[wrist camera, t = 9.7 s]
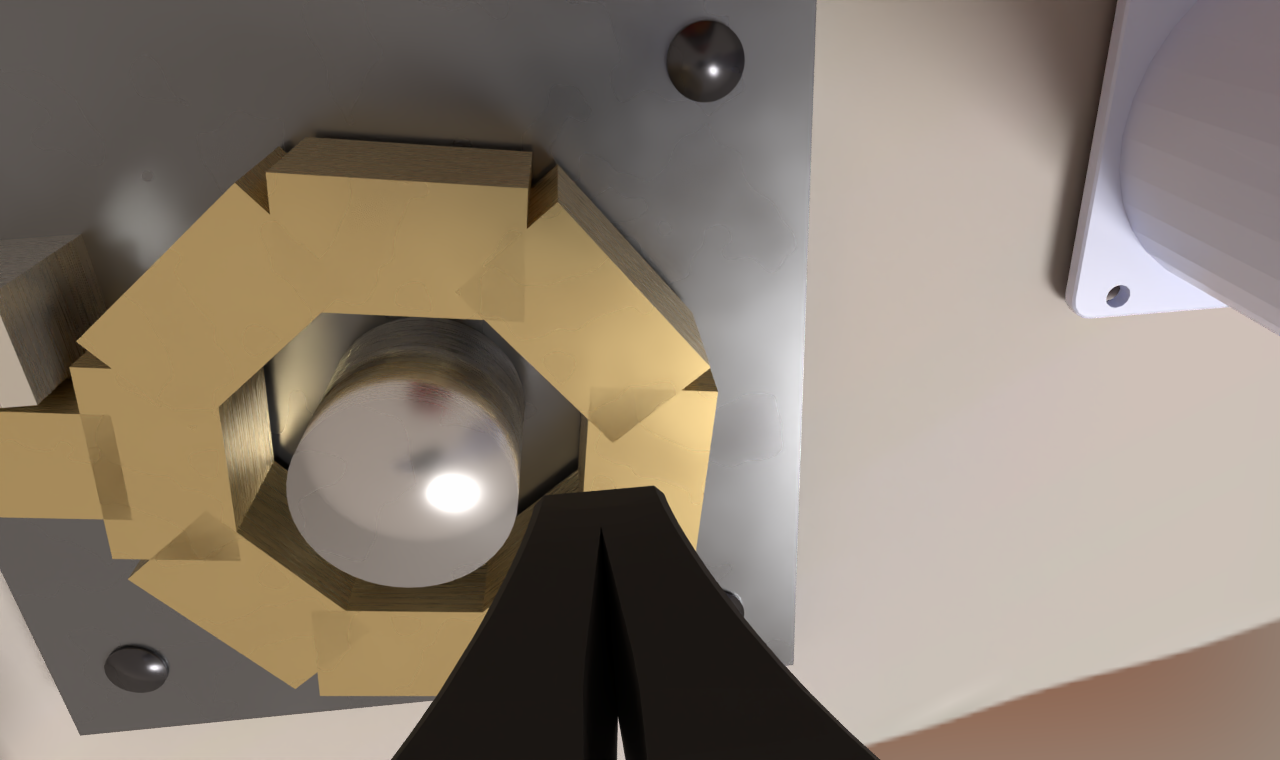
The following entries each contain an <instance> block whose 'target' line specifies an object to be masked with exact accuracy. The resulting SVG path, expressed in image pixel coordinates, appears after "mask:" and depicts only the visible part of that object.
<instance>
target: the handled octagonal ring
mask: <svg viewBox="0 0 1280 760" xmlns="http://www.w3.org/2000/svg"><path fill="white" fill-rule="evenodd" d="M531 172H532V152H527V151H512V150H497V149H482V148H466V147H451V146H436V145H421V144H406V143H390V142H375V141H360V140H345V139H330V138H314V137H306V138H304V139H303V140H302V141H301V142H300V143H299V144H298V145H296V146H295V147H294V148H293V149H292V150H291V151H290V152H288V153H286V152H285V151H284V150H283V149H282V148H281V147H280V146H279V147H278V148H276V149H275V150H274V151H273V152H271V153H270V154H269V155H268V156H267V157H265V158H264V159H263V160H262V161H261V162H259V163H258V164H257V165H256V166H254V167H253V168H252V169H251V170H250V171H248V172H247V173H246V174H245V175H243V176H242V177H241V178H240V179H239V180H237V181H236V182H235V183H234V184H233V185H232V186H231V187H230V188H229V189H228V190H227V191H226V192H225V193H224V194H223V195H222V196H221V197H220V198H219V199H218V200H217V201H216V202H215V203H214V204H213V205H212V206H211V207H210V208H209V209H208V210H207V211H206V212H205V213H204V214H203V215H202V216H201V217H200V218H199V219H198V220H197V221H196V222H195V223H194V224H193V225H192V226H191V227H190V228H189V229H188V230H187V231H186V232H185V233H184V234H183V235H182V236H181V237H180V238H179V239H178V240H177V241H176V242H175V243H174V244H173V245H172V246H171V247H170V248H169V249H168V250H167V251H166V252H165V253H164V254H163V255H162V256H161V257H160V258H159V259H158V260H157V261H156V262H155V263H154V264H153V265H152V266H151V267H150V268H149V269H148V270H147V271H146V272H145V273H144V274H143V275H142V276H141V277H140V278H139V279H138V280H137V281H136V282H135V283H134V284H133V285H132V286H131V287H130V288H129V289H128V290H127V291H126V292H125V293H124V294H123V295H122V296H121V297H120V298H119V299H118V300H117V301H116V302H115V303H114V304H113V305H112V306H111V307H110V308H109V309H108V310H107V311H106V312H105V313H104V314H103V315H102V316H101V317H100V318H99V319H98V320H97V321H96V322H95V323H94V324H93V325H92V326H91V327H90V328H89V329H88V330H87V331H86V332H85V333H84V334H83V335H82V336H81V337H80V338H79V339H78V340H77V341H76V342H77V343H78V344H80V345H81V346H82V347H84V348H85V349H86V350H88V351H86V352H85V353H84V354H83V355H82V356H81V357H80V358H79V359H78V360H77V361H76V362H75V363H73V364H72V365H71V366H70V367H69V368H70V372H71V374H70V375H69V376H68V377H67V378H66V379H65V380H64V381H62V382H61V383H60V384H59V385H58V386H57V387H56V388H55V389H54V390H53V391H52V392H51V393H50V394H49V395H48V396H46V397H45V398H44V399H43V400H42V401H41V402H40V403H39V404H38V405H32V406H20V407H8V408H0V517H8V518H57V519H104V524H105V528H106V533H107V537H108V541H109V546H110V550H111V555H112V559H141V560H140V561H139V563H138V564H137V566H136V567H135V569H134V570H133V572H132V574H131V575H130V577H129V578H128V580H130V581H131V582H133V583H134V584H136V585H137V586H139V587H140V588H142V589H143V590H145V591H146V592H148V593H149V594H151V595H152V596H154V597H155V598H157V599H159V600H160V601H162V602H163V603H165V604H166V605H168V606H169V607H171V608H172V609H174V610H175V611H177V612H178V613H180V614H181V615H183V616H184V617H186V618H187V619H189V620H191V621H192V622H194V623H195V624H197V625H198V626H200V627H201V628H203V629H204V630H206V631H207V632H209V633H210V634H212V635H213V636H215V637H216V638H218V639H220V640H221V641H223V642H224V643H226V644H227V645H229V646H230V647H232V648H233V649H235V650H236V651H238V652H239V653H241V654H242V655H244V656H245V657H247V658H249V659H250V660H252V661H253V662H255V663H256V664H258V665H259V666H261V667H262V668H264V669H265V670H267V671H268V672H270V673H271V674H273V675H274V676H276V677H278V678H279V679H281V680H282V681H284V682H285V683H287V684H288V685H290V686H291V687H293V688H294V689H296V688H298V687H299V686H300V685H301V684H303V683H304V682H305V681H307V680H308V679H309V678H311V677H312V676H313V675H314V674H316V673H317V672H318V682H319V691H320V696H437V694H438V693H439V691H440V690H441V688H442V687H443V685H444V683H445V682H446V680H447V678H448V677H449V675H450V674H451V672H452V670H453V669H454V667H455V666H456V664H457V662H458V661H459V659H460V657H461V656H462V654H463V653H464V651H465V649H466V648H467V646H468V644H469V643H470V641H471V640H472V638H473V636H474V635H475V633H476V631H477V629H478V628H479V626H480V624H481V622H482V620H483V619H484V617H485V615H486V613H487V611H488V609H489V607H490V605H491V603H492V601H493V600H494V598H495V596H496V594H497V592H498V590H499V588H500V586H501V584H502V582H503V581H504V579H505V577H506V575H507V573H508V570H509V568H510V566H511V564H512V562H513V560H514V558H515V555H516V553H517V551H518V549H519V546H520V544H521V542H522V539H523V537H524V535H525V532H526V529H527V527H528V524H529V521H530V519H531V516H532V512H533V509H534V506H535V504H536V503H537V502H538V501H539V500H540V499H541V498H542V497H541V498H540V499H539V500H537V501H536V502H535V503H533V504H532V505H531V506H530V507H528V508H527V509H526V510H524V511H523V512H522V513H521V514H519V515H518V516H517V517H516V518H515V522H514V525H513V528H512V530H511V532H510V534H509V536H508V538H507V539H506V541H505V543H504V544H503V546H502V547H501V548H500V549H499V550H498V552H497V553H496V554H495V555H494V556H493V557H492V558H491V559H490V560H488V561H487V562H486V563H485V564H484V565H482V566H481V567H479V568H478V569H476V570H475V571H473V572H471V573H469V574H467V575H465V576H463V577H461V578H458V579H456V580H453V581H450V582H447V583H443V584H439V585H434V586H427V587H413V588H405V587H392V586H385V585H379V584H376V583H372V582H368V581H365V580H362V579H359V578H357V577H354V576H352V575H350V574H348V573H346V572H344V571H342V570H340V569H338V568H337V567H335V566H333V565H332V564H330V563H329V562H327V561H326V560H325V559H324V558H322V557H321V556H320V555H319V554H318V553H317V552H316V551H315V550H314V549H313V548H312V547H311V546H310V545H309V544H308V543H307V542H306V540H305V539H304V538H303V536H302V535H301V533H300V532H299V530H298V528H297V526H296V525H295V523H294V521H293V518H292V515H291V513H290V510H289V506H288V501H287V493H286V481H287V474H288V471H287V470H286V469H284V468H283V467H282V466H281V465H279V464H278V463H277V462H275V461H274V455H273V446H272V438H271V429H270V420H269V412H268V403H267V395H266V386H265V377H264V369H263V366H264V365H265V364H266V363H267V362H268V361H269V360H270V359H271V358H273V357H274V356H275V355H276V354H277V353H278V352H279V351H280V350H281V349H282V348H283V347H285V346H286V345H287V344H288V343H289V342H290V341H291V340H292V339H293V338H294V337H295V336H297V335H298V334H299V333H300V332H301V331H302V330H303V329H304V328H305V327H306V326H308V325H309V324H310V323H311V322H312V321H313V320H314V319H315V318H316V317H317V316H318V315H320V314H321V313H342V314H364V315H386V316H408V317H431V318H453V319H475V320H485V321H486V322H487V323H488V324H489V325H490V326H491V327H492V328H493V329H494V330H495V331H496V332H497V333H499V334H500V335H501V336H502V337H503V338H504V339H505V340H506V341H507V342H508V343H509V344H510V345H511V346H512V347H513V348H514V349H515V350H516V351H517V352H518V353H519V354H520V355H521V356H523V357H524V358H525V359H526V360H527V361H528V362H529V363H530V364H531V365H532V366H533V367H534V368H535V369H536V370H537V371H538V372H539V373H540V374H541V375H542V376H543V377H544V378H545V379H546V380H548V381H549V382H550V383H551V384H552V385H553V386H554V387H555V388H556V389H557V390H558V391H559V392H560V393H561V394H562V395H563V396H564V397H565V398H566V399H567V400H568V401H569V402H570V403H572V404H573V405H574V406H575V407H576V408H577V409H578V410H579V411H580V412H581V429H580V445H579V460H578V469H577V470H576V471H575V472H574V473H572V474H571V475H570V476H568V477H567V478H566V479H564V480H563V481H562V482H561V483H559V484H558V485H557V486H555V487H554V488H553V489H552V490H550V491H549V492H548V493H546V494H545V495H553V494H564V493H575V492H587V491H598V490H609V489H620V488H632V487H643V486H655V487H657V488H658V489H659V490H660V491H661V492H663V493H664V494H665V497H666V499H667V502H668V504H669V506H670V508H671V510H672V512H673V514H674V516H675V518H676V519H677V521H678V523H679V525H680V526H681V528H682V530H683V532H684V533H685V535H686V537H687V538H688V540H689V541H690V543H691V544H692V546H693V547H694V549H695V551H696V547H697V540H698V533H699V525H700V518H701V511H702V504H703V497H704V490H705V482H706V475H707V468H708V461H709V454H710V446H711V439H712V432H713V425H714V418H715V411H716V403H717V396H718V390H717V387H716V384H715V381H714V378H713V375H712V372H711V369H710V368H711V367H710V364H709V361H708V358H707V355H706V352H705V349H704V346H703V343H702V340H701V337H700V334H699V331H698V328H697V325H696V322H695V319H694V316H693V313H692V312H691V311H690V309H689V308H688V307H687V306H686V305H685V304H684V303H683V302H682V301H681V300H680V298H679V297H678V296H677V295H676V294H675V293H674V292H673V291H672V290H671V288H670V287H669V286H668V285H667V284H666V283H665V282H664V281H663V280H662V279H661V277H660V276H659V275H658V274H657V273H656V272H655V271H654V270H653V269H652V267H651V266H650V265H649V264H648V263H647V262H646V261H645V260H644V259H643V258H642V256H641V255H640V254H639V253H638V252H637V251H636V250H635V249H634V248H633V246H632V245H631V244H630V243H629V242H628V241H627V240H626V239H625V238H624V237H623V235H622V234H621V233H620V232H619V231H618V230H617V229H616V228H615V227H614V225H613V224H612V223H611V222H610V221H609V220H608V219H607V218H606V217H605V216H604V214H603V213H602V212H601V211H600V210H599V209H598V208H597V207H596V206H595V204H594V203H593V202H592V201H591V200H590V199H589V198H588V197H587V196H586V195H585V193H584V192H583V191H582V190H581V189H580V188H579V187H578V186H577V185H576V183H575V182H574V181H573V180H572V179H571V178H570V177H569V176H568V175H567V174H566V172H565V171H564V170H563V169H562V168H561V167H560V166H559V165H558V164H557V165H556V166H555V167H554V168H553V169H552V170H551V171H550V172H548V173H547V174H546V175H545V176H544V177H543V178H542V179H541V180H539V181H538V182H537V183H536V184H535V185H534V186H533V187H532V188H531Z"/></svg>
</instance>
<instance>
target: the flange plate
mask: <svg viewBox="0 0 1280 760" xmlns="http://www.w3.org/2000/svg"><path fill="white" fill-rule="evenodd" d="M815 28H816V0H0V408H8V407H20V406H32V405H38V404H39V403H40V402H41V401H42V400H43V399H44V398H45V397H46V396H48V395H49V394H50V393H51V392H52V391H53V390H54V389H55V388H56V387H57V386H58V385H59V384H60V383H61V382H62V381H64V380H65V379H66V378H67V377H68V376H69V375H70V374H71V372H70V368H69V367H70V366H71V365H72V364H73V363H75V362H76V361H77V360H78V359H79V358H80V357H81V356H82V355H83V354H84V353H85V352H86V351H88V350H86V349H85V348H84V347H82V346H81V345H80V344H78V343H77V342H76V341H77V340H78V339H79V338H80V337H81V336H82V335H83V334H84V333H85V332H86V331H87V330H88V329H89V328H90V327H91V326H92V325H93V324H94V323H95V322H96V321H97V320H98V319H99V318H100V317H101V316H102V315H103V314H104V313H105V312H106V311H107V310H108V309H109V308H110V307H111V306H112V305H113V304H114V303H115V302H116V301H117V300H118V299H119V298H120V297H121V296H122V295H123V294H124V293H125V292H126V291H127V290H128V289H129V288H130V287H131V286H132V285H133V284H134V283H135V282H136V281H137V280H138V279H139V278H140V277H141V276H142V275H143V274H144V273H145V272H146V271H147V270H148V269H149V268H150V267H151V266H152V265H153V264H154V263H155V262H156V261H157V260H158V259H159V258H160V257H161V256H162V255H163V254H164V253H165V252H166V251H167V250H168V249H169V248H170V247H171V246H172V245H173V244H174V243H175V242H176V241H177V240H178V239H179V238H180V237H181V236H182V235H183V234H184V233H185V232H186V231H187V230H188V229H189V228H190V227H191V226H192V225H193V224H194V223H195V222H196V221H197V220H198V219H199V218H200V217H201V216H202V215H203V214H204V213H205V212H206V211H207V210H208V209H209V208H210V207H211V206H212V205H213V204H214V203H215V202H216V201H217V200H218V199H219V198H220V197H221V196H222V195H223V194H224V193H225V192H226V191H227V190H228V189H229V188H230V187H231V186H232V185H233V184H234V183H235V182H236V181H237V180H239V179H240V178H241V177H242V176H243V175H245V174H246V173H247V172H248V171H250V170H251V169H252V168H253V167H254V166H256V165H257V164H258V163H259V162H261V161H262V160H263V159H264V158H265V157H267V156H268V155H269V154H270V153H271V152H273V151H274V150H275V149H276V148H278V147H279V146H280V147H281V148H282V149H283V150H284V151H285V152H286V153H288V152H290V151H291V150H292V149H293V148H294V147H295V146H296V145H298V144H299V143H300V142H301V141H302V140H303V139H304V138H306V137H314V138H330V139H345V140H360V141H375V142H390V143H406V144H421V145H436V146H451V147H466V148H482V149H497V150H512V151H527V152H532V172H531V188H532V187H533V186H534V185H535V184H536V183H537V182H538V181H539V180H541V179H542V178H543V177H544V176H545V175H546V174H547V173H548V172H550V171H551V170H552V169H553V168H554V167H555V166H556V165H557V164H558V165H559V166H560V167H561V168H562V169H563V170H564V171H565V172H566V174H567V175H568V176H569V177H570V178H571V179H572V180H573V181H574V182H575V183H576V185H577V186H578V187H579V188H580V189H581V190H582V191H583V192H584V193H585V195H586V196H587V197H588V198H589V199H590V200H591V201H592V202H593V203H594V204H595V206H596V207H597V208H598V209H599V210H600V211H601V212H602V213H603V214H604V216H605V217H606V218H607V219H608V220H609V221H610V222H611V223H612V224H613V225H614V227H615V228H616V229H617V230H618V231H619V232H620V233H621V234H622V235H623V237H624V238H625V239H626V240H627V241H628V242H629V243H630V244H631V245H632V246H633V248H634V249H635V250H636V251H637V252H638V253H639V254H640V255H641V256H642V258H643V259H644V260H645V261H646V262H647V263H648V264H649V265H650V266H651V267H652V269H653V270H654V271H655V272H656V273H657V274H658V275H659V276H660V277H661V279H662V280H663V281H664V282H665V283H666V284H667V285H668V286H669V287H670V288H671V290H672V291H673V292H674V293H675V294H676V295H677V296H678V297H679V298H680V300H681V301H682V302H683V303H684V304H685V305H686V306H687V307H688V308H689V309H690V311H691V312H692V313H693V316H694V319H695V322H696V325H697V328H698V331H699V334H700V337H701V340H702V343H703V346H704V349H705V352H706V355H707V358H708V361H709V364H710V367H711V368H710V369H711V372H712V375H713V378H714V381H715V384H716V387H717V390H718V396H717V403H716V411H715V418H714V425H713V432H712V439H711V446H710V454H709V461H708V468H707V475H706V482H705V490H704V497H703V504H702V511H701V518H700V525H699V533H698V540H697V547H696V552H697V554H698V555H699V557H700V558H701V560H702V561H703V563H704V564H705V566H706V567H707V568H708V570H709V571H710V573H711V574H712V576H713V577H714V578H715V580H716V581H717V582H718V584H719V585H720V586H721V588H722V589H723V590H724V592H725V593H726V594H727V596H728V597H729V598H730V600H731V601H732V602H733V604H734V605H735V606H736V608H737V609H738V610H739V612H740V613H741V614H742V615H743V617H744V618H745V619H746V620H747V622H748V623H749V624H750V625H751V627H752V628H753V629H754V630H755V632H756V633H757V634H758V635H759V636H760V637H761V639H762V640H763V641H764V642H765V643H766V644H767V646H768V647H769V648H770V649H771V650H772V651H773V653H774V654H775V655H776V656H777V657H778V658H779V659H780V661H781V662H782V663H783V664H784V665H785V666H787V665H793V661H794V632H795V603H796V574H797V546H798V517H799V488H800V459H801V431H802V402H803V373H804V344H805V316H806V287H807V258H808V229H809V201H810V172H811V143H812V114H813V86H814V57H815ZM263 369H264V377H265V386H266V395H267V403H268V412H269V420H270V429H271V438H272V446H273V455H274V461H275V462H277V463H278V464H279V465H281V466H282V467H283V468H284V469H286V470H287V471H288V474H287V481H286V493H287V501H288V506H289V510H290V513H291V515H292V518H293V521H294V523H295V525H296V526H297V528H298V530H299V532H300V533H301V535H302V536H303V538H304V539H305V540H306V542H307V543H308V544H309V545H310V546H311V547H312V548H313V549H314V550H315V551H316V552H317V553H318V554H319V555H320V556H321V557H322V558H324V559H325V560H326V561H327V562H329V563H330V564H332V565H333V566H335V567H337V568H338V569H340V570H342V571H344V572H346V573H348V574H350V575H352V576H354V577H357V578H359V579H362V580H365V581H368V582H372V583H376V584H379V585H385V586H392V587H405V588H413V587H427V586H434V585H439V584H443V583H447V582H450V581H453V580H456V579H458V578H461V577H463V576H465V575H467V574H469V573H471V572H473V571H475V570H476V569H478V568H479V567H481V566H482V565H484V564H485V563H486V562H487V561H488V560H490V559H491V558H492V557H493V556H494V555H495V554H496V553H497V552H498V550H499V549H500V548H501V547H502V546H503V544H504V543H505V541H506V539H507V538H508V536H509V534H510V532H511V530H512V528H513V525H514V522H515V518H516V517H517V516H518V515H519V514H521V513H522V512H523V511H524V510H526V509H527V508H528V507H530V506H531V505H532V504H533V503H535V502H536V501H537V500H539V499H540V498H541V497H543V496H544V495H545V494H546V493H548V492H549V491H550V490H552V489H553V488H554V487H555V486H557V485H558V484H559V483H561V482H562V481H563V480H564V479H566V478H567V477H568V476H570V475H571V474H572V473H574V472H575V471H576V470H577V469H578V460H579V445H580V429H581V412H580V411H579V410H578V409H577V408H576V407H575V406H574V405H573V404H572V403H570V402H569V401H568V400H567V399H566V398H565V397H564V396H563V395H562V394H561V393H560V392H559V391H558V390H557V389H556V388H555V387H554V386H553V385H552V384H551V383H550V382H549V381H548V380H546V379H545V378H544V377H543V376H542V375H541V374H540V373H539V372H538V371H537V370H536V369H535V368H534V367H533V366H532V365H531V364H530V363H529V362H528V361H527V360H526V359H525V358H524V357H523V356H521V355H520V354H519V353H518V352H517V351H516V350H515V349H514V348H513V347H512V346H511V345H510V344H509V343H508V342H507V341H506V340H505V339H504V338H503V337H502V336H501V335H500V334H499V333H497V332H496V331H495V330H494V329H493V328H492V327H491V326H490V325H489V324H488V323H487V322H486V321H485V320H475V319H453V318H431V317H408V316H386V315H364V314H342V313H321V314H320V315H318V316H317V317H316V318H315V319H314V320H313V321H312V322H311V323H310V324H309V325H308V326H306V327H305V328H304V329H303V330H302V331H301V332H300V333H299V334H298V335H297V336H295V337H294V338H293V339H292V340H291V341H290V342H289V343H288V344H287V345H286V346H285V347H283V348H282V349H281V350H280V351H279V352H278V353H277V354H276V355H275V356H274V357H273V358H271V359H270V360H269V361H268V362H267V363H266V364H265V365H264V366H263ZM140 560H141V559H112V555H111V550H110V546H109V541H108V537H107V533H106V528H105V524H104V519H57V518H8V517H0V570H1V572H2V574H3V576H4V578H5V580H6V582H7V584H8V586H9V588H10V590H11V592H12V594H13V597H14V599H15V601H16V603H17V605H18V607H19V609H20V611H21V613H22V615H23V617H24V619H25V621H26V624H27V626H28V628H29V630H30V632H31V634H32V636H33V638H34V640H35V642H36V644H37V646H38V648H39V651H40V653H41V655H42V657H43V659H44V661H45V663H46V665H47V667H48V669H49V671H50V673H51V676H52V678H53V680H54V682H55V684H56V686H57V688H58V690H59V692H60V694H61V696H62V698H63V700H64V703H65V705H66V707H67V709H68V711H69V713H70V715H71V717H72V719H73V721H74V723H75V725H76V727H77V730H78V732H79V734H80V735H90V734H100V733H110V732H120V731H130V730H140V729H151V728H161V727H171V726H181V725H191V724H201V723H211V722H221V721H231V720H241V719H252V718H262V717H272V716H282V715H292V714H302V713H312V712H322V711H332V710H342V709H352V708H363V707H373V706H383V705H393V704H403V703H413V702H423V701H433V700H434V699H435V697H436V696H320V691H319V682H318V672H317V673H316V674H314V675H313V676H312V677H311V678H309V679H308V680H307V681H305V682H304V683H303V684H301V685H300V686H299V687H298V688H296V689H294V688H293V687H291V686H290V685H288V684H287V683H285V682H284V681H282V680H281V679H279V678H278V677H276V676H274V675H273V674H271V673H270V672H268V671H267V670H265V669H264V668H262V667H261V666H259V665H258V664H256V663H255V662H253V661H252V660H250V659H249V658H247V657H245V656H244V655H242V654H241V653H239V652H238V651H236V650H235V649H233V648H232V647H230V646H229V645H227V644H226V643H224V642H223V641H221V640H220V639H218V638H216V637H215V636H213V635H212V634H210V633H209V632H207V631H206V630H204V629H203V628H201V627H200V626H198V625H197V624H195V623H194V622H192V621H191V620H189V619H187V618H186V617H184V616H183V615H181V614H180V613H178V612H177V611H175V610H174V609H172V608H171V607H169V606H168V605H166V604H165V603H163V602H162V601H160V600H159V599H157V598H155V597H154V596H152V595H151V594H149V593H148V592H146V591H145V590H143V589H142V588H140V587H139V586H137V585H136V584H134V583H133V582H131V581H130V580H128V578H129V577H130V575H131V574H132V572H133V570H134V569H135V567H136V566H137V564H138V563H139V561H140Z"/></svg>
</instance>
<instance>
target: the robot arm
mask: <svg viewBox="0 0 1280 760" xmlns="http://www.w3.org/2000/svg"><path fill="white" fill-rule="evenodd" d="M1119 285H1120V290H1119V292H1118V294H1117V295H1116V296H1115V297H1114V298H1113V299H1111V300H1108V301H1106V297H1107V295H1108V292H1109V291H1110V290H1111V289H1112V288H1114V287H1116V286H1119ZM1065 296H1066V303H1067V305H1068V307H1069V309H1071V310H1072V311H1073V312H1075V313H1076V314H1077V315H1079V316H1081V317H1082V318H1103V317H1115V316H1127V315H1139V314H1151V313H1163V312H1175V311H1188V310H1200V309H1212V308H1224V307H1231V308H1232V309H1234V310H1236V311H1238V312H1239V313H1241V314H1243V315H1244V316H1246V317H1248V318H1250V319H1251V320H1253V321H1255V322H1256V323H1258V324H1260V325H1262V326H1263V327H1265V328H1267V329H1268V330H1270V331H1272V332H1274V333H1275V334H1277V335H1279V336H1280V0H1117V6H1116V12H1115V17H1114V23H1113V29H1112V34H1111V40H1110V46H1109V51H1108V57H1107V63H1106V68H1105V74H1104V79H1103V85H1102V91H1101V96H1100V102H1099V108H1098V113H1097V119H1096V125H1095V130H1094V136H1093V141H1092V147H1091V153H1090V158H1089V164H1088V170H1087V175H1086V181H1085V187H1084V192H1083V198H1082V204H1081V209H1080V215H1079V220H1078V226H1077V232H1076V237H1075V243H1074V249H1073V254H1072V260H1071V266H1070V271H1069V277H1068V282H1067V288H1066V294H1065ZM618 719H619V725H620V730H621V736H622V742H623V748H624V753H625V759H626V760H880V759H879V758H878V757H876V756H875V755H874V754H873V753H872V752H871V751H870V750H869V749H868V748H867V747H866V746H864V745H863V744H862V743H861V742H860V741H859V740H858V739H857V738H856V737H855V736H853V735H852V734H851V733H850V732H849V731H848V730H847V729H846V728H845V727H844V726H843V725H842V724H841V723H840V722H839V721H838V720H837V719H836V718H835V717H834V716H833V715H832V714H831V713H830V712H829V711H828V710H827V709H826V708H825V707H824V706H823V705H822V704H821V703H820V702H819V701H818V700H817V699H816V698H815V697H814V696H813V695H812V694H811V693H810V692H809V691H808V690H807V689H806V688H805V687H804V686H803V685H802V684H801V683H800V682H799V680H798V679H797V678H796V677H795V676H794V675H793V674H792V673H791V672H790V671H789V670H788V668H787V667H786V666H785V665H784V664H783V663H782V662H781V661H780V659H779V658H778V657H777V656H776V655H775V654H774V653H773V651H772V650H771V649H770V648H769V647H768V646H767V644H766V643H765V642H764V641H763V640H762V639H761V637H760V636H759V635H758V634H757V633H756V632H755V630H754V629H753V628H752V627H751V625H750V624H749V623H748V622H747V620H746V619H745V618H744V617H743V615H742V614H741V613H740V612H739V610H738V609H737V608H736V606H735V605H734V604H733V602H732V601H731V600H730V598H729V597H728V596H727V594H726V593H725V592H724V590H723V589H722V588H721V586H720V585H719V584H718V582H717V581H716V580H715V578H714V577H713V576H712V574H711V573H710V571H709V570H708V568H707V567H706V566H705V564H704V563H703V561H702V560H701V558H700V557H699V555H698V554H697V552H696V551H695V549H694V547H693V546H692V544H691V543H690V541H689V540H688V538H687V537H686V535H685V533H684V532H683V530H682V528H681V526H680V525H679V523H678V521H677V519H676V518H675V516H674V514H673V512H672V510H671V508H670V506H669V504H668V502H667V499H666V497H665V494H664V493H663V492H661V491H660V490H659V489H658V488H657V487H655V486H643V487H632V488H620V489H609V490H598V491H587V492H575V493H564V494H553V495H544V496H543V497H542V498H541V499H540V500H539V501H538V502H537V503H536V504H535V506H534V509H533V512H532V516H531V519H530V521H529V524H528V527H527V529H526V532H525V535H524V537H523V539H522V542H521V544H520V546H519V549H518V551H517V553H516V555H515V558H514V560H513V562H512V564H511V566H510V568H509V570H508V573H507V575H506V577H505V579H504V581H503V582H502V584H501V586H500V588H499V590H498V592H497V594H496V596H495V598H494V600H493V601H492V603H491V605H490V607H489V609H488V611H487V613H486V615H485V617H484V619H483V620H482V622H481V624H480V626H479V628H478V629H477V631H476V633H475V635H474V636H473V638H472V640H471V641H470V643H469V644H468V646H467V648H466V649H465V651H464V653H463V654H462V656H461V657H460V659H459V661H458V662H457V664H456V666H455V667H454V669H453V670H452V672H451V674H450V675H449V677H448V678H447V680H446V682H445V683H444V685H443V687H442V688H441V690H440V691H439V693H438V694H437V696H436V697H435V699H434V700H433V702H432V703H431V705H430V706H429V708H428V709H427V711H426V712H425V714H424V715H423V716H422V718H421V719H420V721H419V722H418V724H417V725H416V726H415V728H414V729H413V731H412V732H411V733H410V735H409V736H408V738H407V739H406V740H405V742H404V743H403V744H402V746H401V747H400V748H399V750H398V751H397V752H396V754H395V755H394V756H393V758H392V759H391V760H617V733H618Z"/></svg>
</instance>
